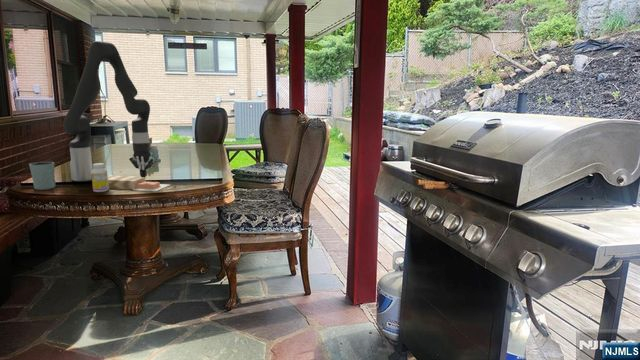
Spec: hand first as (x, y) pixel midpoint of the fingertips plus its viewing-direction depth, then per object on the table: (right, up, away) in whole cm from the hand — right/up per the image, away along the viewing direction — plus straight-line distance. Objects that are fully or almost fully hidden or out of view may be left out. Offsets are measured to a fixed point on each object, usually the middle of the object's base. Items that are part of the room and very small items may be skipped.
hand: (143, 177), depth 205 cm
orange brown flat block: (+2, -5, 0) cm, 5 cm away
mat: (+4, -5, 0) cm, 6 cm away
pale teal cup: (-47, -5, -2) cm, 47 cm away
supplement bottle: (-17, -7, -7) cm, 20 cm away
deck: (-12, -4, +3) cm, 14 cm away
